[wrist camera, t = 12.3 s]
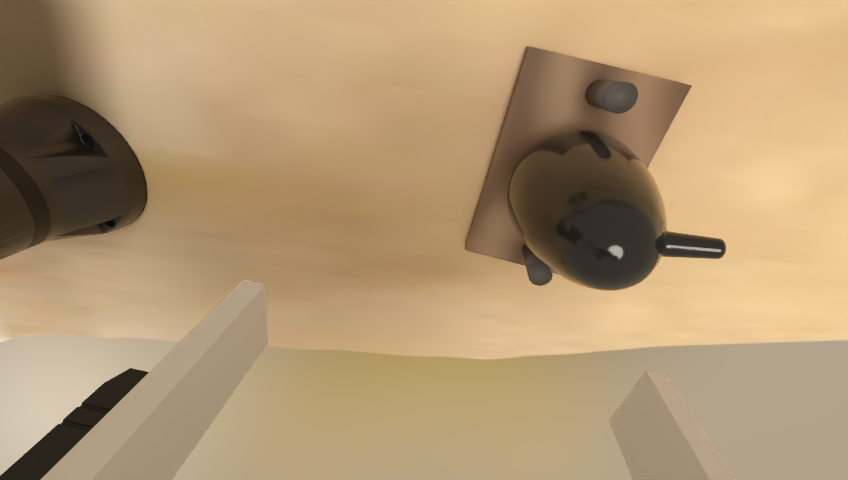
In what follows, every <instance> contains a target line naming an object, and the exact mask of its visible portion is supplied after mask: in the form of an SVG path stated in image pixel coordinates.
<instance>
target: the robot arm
mask: <svg viewBox="0 0 848 480" xmlns="http://www.w3.org/2000/svg"><path fill="white" fill-rule="evenodd" d="M145 201H146V186H145V181H144V177H143V173H142V171H141V168H140V166H139V163H138V161H137V159H136V158H135V156H134V154H133V152H132V151H131V149H130V148H129V146H128V145H127V143H126V142H125V141H124V139H123V138H122V137H121V136H120V135H119V134H118V132H117V131H116V130H115V129H114V128H113V127H112V126H111V125H110V124H109V123H107V122H106V121H105V120H104V119H103V118H101V117H100V116H99V115H98V114H96V113H95V112H93V111H92V110H90V109H89V108H87V107H85V106H83V105H81V104H79V103H77V102H75V101H72V100H70V99H66V98H63V97H58V96H35V97H23V98H17V99H13V100H10V101H8V102H5V103H3V104H1V105H0V260H1V259H3V258H6V257H8V256H10V255H13V254H15V253H18V252H20V251H23V250H25V249H27V248H30V247H32V246H35V245H37V244H40V243H42V242H45V241H50V240H58V239H66V238H73V237H81V236H89V235H96V234H103V233H108V232H111V231H114V230H116V229H119V228H121V227H123V226H125V225H127V224H130V223H132V222H133V221H135V220H136V219H137V218H138V217H139V215H140V214H141V212H142V211H143V208H144V205H145ZM266 344H267V314H266V284H262V283H258V282H253V281H249V280H244V279H243V280H242V281H241V282H240V283H239V284H238V285H237V286H236V287H235V288H234V289H233V290H232V291H231V292H230V293H229V294H228V295H227V296H226V297H225V298H224V299H223V300H222V301H221V302H220V303H219V304H218V305H217V306H216V307H215V308H214V309H213V310H212V311H211V312H210V313H209V314H208V315H207V316H206V317H205V318H204V319H203V320H202V321H201V322H200V323H199V324H198V325H197V326H196V327H195V328H194V329H192V330H191V331H190V332H189V333H188V334H187V335H186V336H185V337H184V338H183V339H182V340H181V341H180V342H179V343H178V344H177V345H176V346H175V348H173V349H172V351H170V352H169V353H168V354H167V355H166V356H165V357H164V358H163V359H162V360H161V361H160V362H159V363H158V364H157V365H156V366H155V367H154V368H153V369H152V370H151V371H150V372H145V371H141V370H136V369H132V368H130V369H128V370H127V371H125V372H123V373H121V374H119V375H118V376H116V377H114V378H112V379H111V380H109V381H107V382H105V383H104V384H103V385H101V386H100V387H99V388H98V389H97V390H96V391H95V392H94V393H93V394H92V395H90V396H89V397H88V398H87V399H86V400H85V401H84V402H83V403H82V405H81V406H80V407H77V408H76V409H75V410H74V411H72V412H71V413H70V414H69V415H68V416H67V417H66V418H65V419H64V420H63V422H62V423H61V424H58V425H57V426H56V427H55V428H54V429H52V430H51V431H50V432H49V433H48V434H47V435H46V436H44V437H43V438H42V439H41V440H40V441H39V442H38V443H37V444H36V445H34V446H33V447H32V448H31V449H30V450H29V451H28V452H27V453H25V454H24V455H23V456H22V457H21V458H20V459H19V460H18V461H16V462H15V463H14V464H13V465H12V466H11V467H10V468H9V469H8V470H7V471H5V472H4V473H3V474H2V475H1V476H0V480H172V479H173V478H174V476H175V475H176V473H177V472H178V470H179V469H180V467H181V466H182V464H183V463H184V462H185V460H186V459H187V458H188V456H189V454H190V453H191V452H192V450H193V449H194V447H195V446H196V445H197V443H198V442H199V440H200V439H201V437H202V436H203V435H204V433H205V432H206V430H207V429H208V427H209V426H210V425H211V423H212V422H213V420H214V419H215V417H216V415H217V414H218V413H219V412H220V410H221V409H222V407H223V406H224V404H225V403H226V401H227V400H228V399H229V397H230V396H231V394H232V393H233V391H234V390H235V389H236V387H237V386H238V384H239V383H240V382H241V380H242V379H243V377H244V375H245V374H246V373H247V372H248V370H249V369H250V367H251V366H252V364H253V363H254V361H255V360H256V359H257V357H258V356H259V354H260V353H261V351H262V350H263V349H264V347H265V346H266ZM609 422H610V424H611V427H612V429H613V432H614V434H615V437H616V439H617V442H618V444H619V446H620V449H621V451H622V454H623V456H624V459H625V461H626V464H627V466H628V469H629V471H630V474H631V476H632V479H633V480H736V479H735V477H734V476H733V474H732V473H731V471H730V470H729V468H728V467H727V465H726V464H725V462H724V461H723V459H722V457H721V456H720V455H719V453H718V451H717V450H716V448H715V447H714V445H713V444H712V442H711V441H710V439H709V438H708V436H707V435H706V433H705V431H704V430H703V428H702V427H701V425H700V424H699V422H698V421H697V419H696V418H695V416H694V415H693V413H692V412H691V410H690V408H689V407H688V405H687V404H686V402H685V401H684V399H683V398H682V396H681V395H680V393H679V392H678V390H677V389H676V387H675V385H674V384H673V382H672V381H671V379H670V378H669V376H667V375H662V374H658V373H654V372H649V371H645V373H644V374H643V375H642V377H641V378H640V379H639V381H638V382H637V383H636V385H635V386H634V388H633V389H632V390H631V392H630V393H629V394H628V396H627V397H626V398H625V400H624V401H623V402H622V404H621V405H620V406H619V408H618V409H617V410H616V412H615V413H614V414H613V416H612V417H611V418H610V420H609Z"/></svg>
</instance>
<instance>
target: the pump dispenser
mask: <svg viewBox="0 0 848 480" xmlns="http://www.w3.org/2000/svg"><path fill="white" fill-rule="evenodd" d="M507 206H508V211H509V215H510V218H511V221H512V223H513V225H514V227H515V229H516V231H517V233H518V234H519V236H520V237H521V239H522V240H523V242H524V243H525V245H526V246H527V247H528V248H529V249H530V251H531V252H532V253H533V254H534V255H535V256H536V257H537V258H538V259H539V260H541V261H542V262H543V263H544V264H545V265H547V266H548V267H549V268H550V269H552V270H553V271H555V272H556V273H557V274H559V275H561V276H562V277H564V278H566V279H567V280H569V281H571V282H573V283H576V284H578V285H581V286H584V287H587V288H591V289H596V290H604V291H614V290H622V289H626V288H629V287H632V286H634V285H636V284H638V283H640V282H642V281H643V280H645V279H646V278H647V277H648V276H649V275H650V274H651V273H652V271H653V270H654V269H655V267H656V266H657V264H658V263H659V260H660V258H661V257H687V258H710V259H719V258H721V257H723V256H724V254H725V252H726V244H725V242H724V241H723V240H722V239H718V238H711V237H704V236H696V235H689V234H682V233H675V232H669V231H667V229H666V212H665V207H664V203H663V200H662V197H661V194H660V191H659V189H658V186H657V184H656V182H655V180H654V178H653V177H652V175H651V173H650V172H649V170H648V169H647V168H646V166H645V165H644V164H643V162H642V161H641V160H640V159H639V158H638V156H637V155H636V154H635V153H634V152H633V151H632V150H631V149H630V148H629V147H628V146H626V145H625V144H624V143H622V142H621V141H619V140H618V139H616V138H614V137H612V136H610V135H608V134H605V133H603V132H599V131H595V130H587V129H577V130H569V131H564V132H560V133H557V134H554V135H552V136H550V137H548V138H546V139H544V140H542V141H540V142H539V143H537V144H536V145H535V146H533V147H532V148H531V149H530V150H529V151H528V152H527V153H526V154H525V155H524V156H523V157H522V158H521V160H520V161H519V162H518V164H517V165H516V167H515V169H514V171H513V173H512V175H511V177H510V180H509V184H508V189H507Z"/></svg>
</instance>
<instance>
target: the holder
mask: <svg viewBox="0 0 848 480" xmlns="http://www.w3.org/2000/svg"><path fill="white" fill-rule="evenodd" d="M690 88H691V85H687V84H683V83H679V82H675V81H670V80H666V79H662V78H658V77H654V76H650V75H646V74H641V73H637V72H633V71H629V70H625V69H621V68H616V67H612V66H608V65H604V64H600V63H596V62H591V61H587V60H583V59H579V58H575V57H571V56H567V55H562V54H558V53H554V52H550V51H546V50H542V49H537V48H533V47H526V50H525V54H524V57H523V60H522V63H521V67H520V70H519V73H518V76H517V79H516V83H515V86H514V89H513V92H512V95H511V99H510V102H509V105H508V108H507V112H506V115H505V118H504V121H503V124H502V128H501V131H500V134H499V137H498V140H497V144H496V147H495V150H494V153H493V156H492V160H491V163H490V166H489V169H488V173H487V176H486V179H485V182H484V185H483V189H482V192H481V195H480V198H479V201H478V205H477V208H476V211H475V214H474V218H473V221H472V224H471V227H470V230H469V234H468V237H467V240H466V243H465V250H467V251H470V252H474V253H478V254H482V255H486V256H490V257H494V258H498V259H502V260H506V261H510V262H514V263H518V264H521V265H525V266H526V268H527V272H528V276H529V280H530V281H531V282H532V283H533V284H535V285H545V284H547V283H549V282H550V281H551V279H552V272H553V273H556V272H555V271H553V270H552V269H550V268H549V267H548V266H547V265H545V264H544V263H543V262H542V261H541V260H539V259H538V258H537V257H536V256H535V255H534V254H533V253H532V252H531V251H530V249H529V248H528V247H527V246H526V245H525V243H524V242H523V240H522V239H521V237H520V236H519V234H518V233H517V231H516V229H515V227H514V225H513V223H512V221H511V218H510V215H509V211H508V206H507V189H508V184H509V180H510V177H511V175H512V173H513V171H514V169H515V167H516V165H517V164H518V162H519V161H520V160H521V158H522V157H523V156H524V155H525V154H526V153H527V152H528V151H529V150H530V149H531V148H532V147H533V146H535V145H536V144H537V143H539V142H540V141H542V140H544V139H546V138H548V137H550V136H552V135H554V134H557V133H560V132H564V131H569V130H577V129H587V130H595V131H599V132H603V133H605V134H608V135H610V136H612V137H614V138H616V139H618V140H619V141H621V142H622V143H624V144H625V145H626V146H628V147H629V148H630V149H631V150H632V151H633V152H634V153H635V154H636V155H637V156H638V158H639V159H640V160H641V161H642V162H643V164H644V165H645V166H646V168H648V166H649V164H650V162H651V160H652V158H653V156H654V155H655V153H656V151H657V149H658V147H659V145H660V144H661V142H662V140H663V138H664V136H665V134H666V132H667V131H668V129H669V127H670V125H671V123H672V121H673V119H674V118H675V116H676V114H677V112H678V110H679V108H680V106H681V105H682V103H683V101H684V99H685V97H686V95H687V94H688V92H689V90H690Z"/></svg>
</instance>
